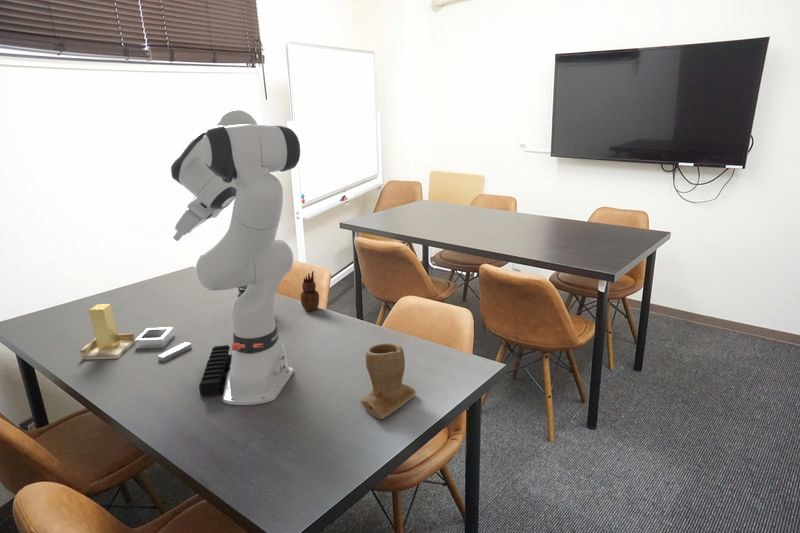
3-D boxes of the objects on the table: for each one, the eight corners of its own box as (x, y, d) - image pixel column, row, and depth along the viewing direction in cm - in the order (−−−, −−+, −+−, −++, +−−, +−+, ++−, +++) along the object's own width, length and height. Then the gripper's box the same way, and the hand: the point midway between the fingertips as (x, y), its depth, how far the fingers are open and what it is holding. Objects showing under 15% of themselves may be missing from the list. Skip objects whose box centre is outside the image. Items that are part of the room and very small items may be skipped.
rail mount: (210, 361, 148) (208, 347, 147) (233, 359, 150) (230, 344, 148) (197, 401, 129) (194, 384, 127) (223, 398, 130) (220, 381, 128)
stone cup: (387, 381, 135) (386, 333, 130) (421, 396, 128) (421, 346, 123) (348, 407, 124) (345, 355, 119) (383, 425, 117) (381, 370, 112)
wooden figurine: (321, 306, 186) (318, 269, 182) (317, 312, 181) (314, 274, 176) (304, 305, 187) (301, 269, 182) (299, 312, 182) (296, 274, 177)
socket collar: (163, 347, 157) (162, 339, 156) (136, 348, 157) (134, 340, 156) (174, 335, 165) (173, 327, 164) (148, 336, 165) (147, 328, 164)
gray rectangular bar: (186, 347, 158) (185, 342, 157) (191, 349, 156) (190, 343, 156) (158, 361, 149) (157, 355, 149) (164, 363, 148) (163, 357, 148)
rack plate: (118, 358, 151) (116, 349, 150) (82, 359, 151) (80, 350, 150) (135, 341, 161) (133, 333, 160) (101, 342, 161) (99, 334, 160)
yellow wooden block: (112, 350, 154) (103, 309, 149) (98, 350, 153) (88, 309, 149) (119, 343, 158) (110, 303, 153) (106, 343, 158) (96, 304, 153)
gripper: (210, 191, 163) (186, 221, 166) (187, 204, 144) (160, 236, 147) (225, 204, 165) (201, 233, 168) (205, 218, 145) (177, 250, 148)
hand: (181, 235), depth 157 cm, fingers open, 8 cm apart
